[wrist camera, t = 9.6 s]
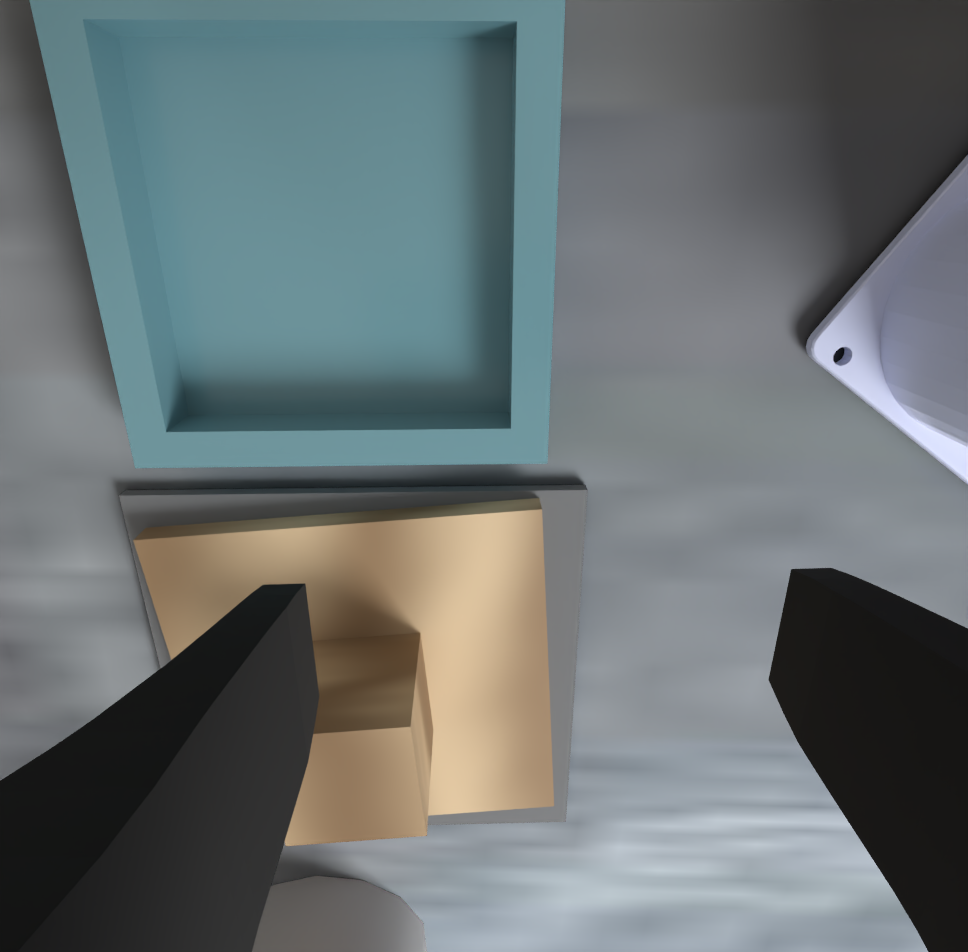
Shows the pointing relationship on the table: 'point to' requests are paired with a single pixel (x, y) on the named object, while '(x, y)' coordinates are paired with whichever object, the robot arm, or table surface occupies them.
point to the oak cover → (391, 653)
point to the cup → (337, 918)
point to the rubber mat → (557, 502)
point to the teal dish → (317, 222)
